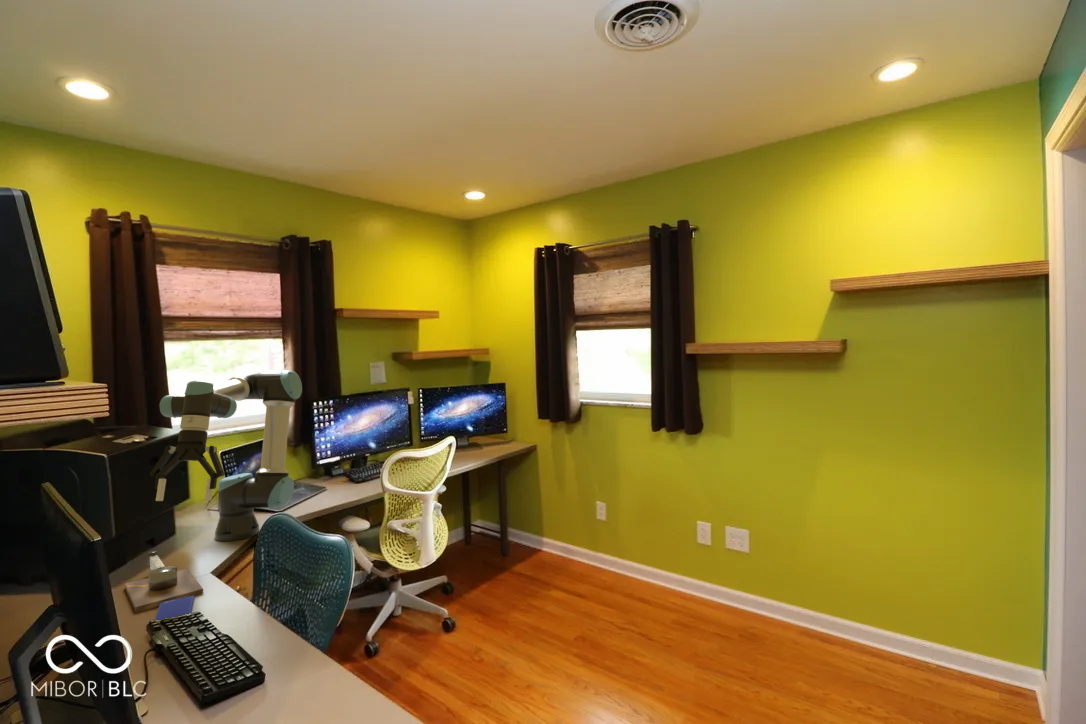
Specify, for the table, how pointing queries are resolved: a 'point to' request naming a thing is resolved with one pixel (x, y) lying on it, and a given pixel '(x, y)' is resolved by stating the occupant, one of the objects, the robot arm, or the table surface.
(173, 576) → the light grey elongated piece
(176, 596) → the base plate
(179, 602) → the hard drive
